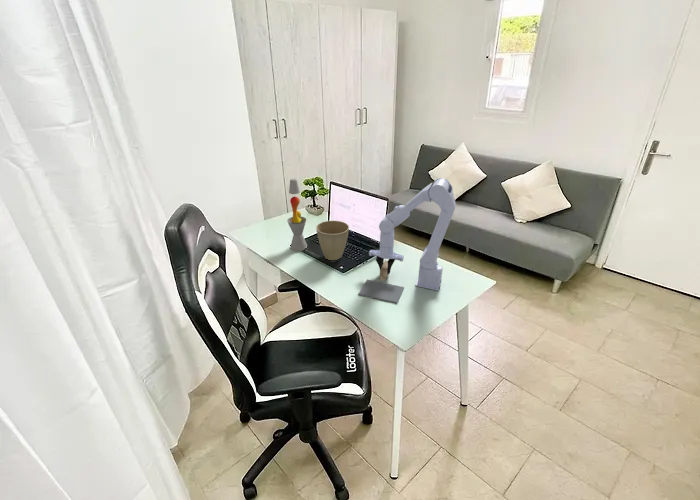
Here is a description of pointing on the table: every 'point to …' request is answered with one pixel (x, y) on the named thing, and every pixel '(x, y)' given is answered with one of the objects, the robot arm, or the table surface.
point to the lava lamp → (296, 220)
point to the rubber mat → (381, 291)
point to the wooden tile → (384, 271)
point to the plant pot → (332, 238)
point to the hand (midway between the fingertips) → (385, 272)
